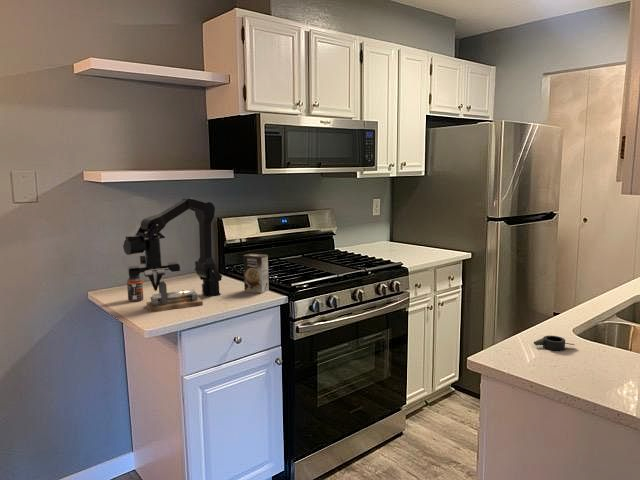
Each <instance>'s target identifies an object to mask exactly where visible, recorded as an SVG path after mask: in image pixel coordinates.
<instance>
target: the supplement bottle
mask: <svg viewBox="0 0 640 480" xmlns="http://www.w3.org/2000/svg"><path fill="white" fill-rule="evenodd" d="M140 276H141V275H140V274H139V275H138V276H129V275H128V279H126V285H127V286H126V288H127V299H128V301H129V302H134V303H135V302H141V301H143V300H144V289H143V288H144V287H143V285H144V284H143V278H142V277H140Z"/></svg>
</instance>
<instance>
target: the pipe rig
mask: <svg viewBox="0 0 640 480" xmlns="http://www.w3.org/2000/svg"><path fill="white" fill-rule="evenodd" d="M197 296H198V294H197V292H196V290H195V288H194V289H187V290H177V291H169V292H167V300H173V299H181V298H182V299H183V298H189V297H190V299H191V300H192V301H196V300H197ZM158 301H161V293H152V296H150V302H151V304H152V305H153V306H158Z"/></svg>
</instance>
